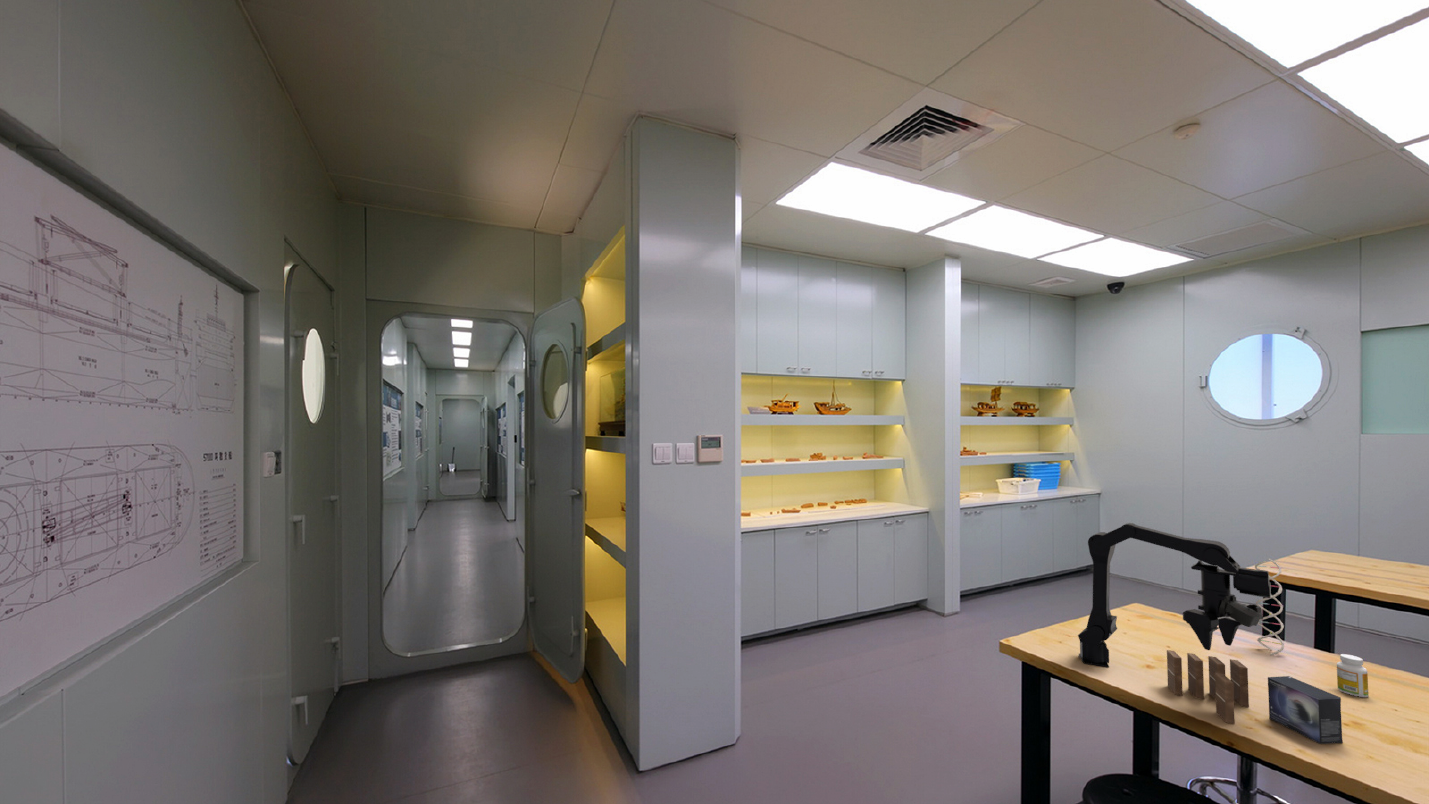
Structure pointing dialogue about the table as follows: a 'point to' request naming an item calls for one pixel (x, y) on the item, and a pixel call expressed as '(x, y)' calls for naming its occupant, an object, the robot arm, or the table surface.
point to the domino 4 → (1224, 698)
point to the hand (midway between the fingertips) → (1217, 647)
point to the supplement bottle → (1352, 676)
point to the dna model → (1271, 612)
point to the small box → (1305, 709)
